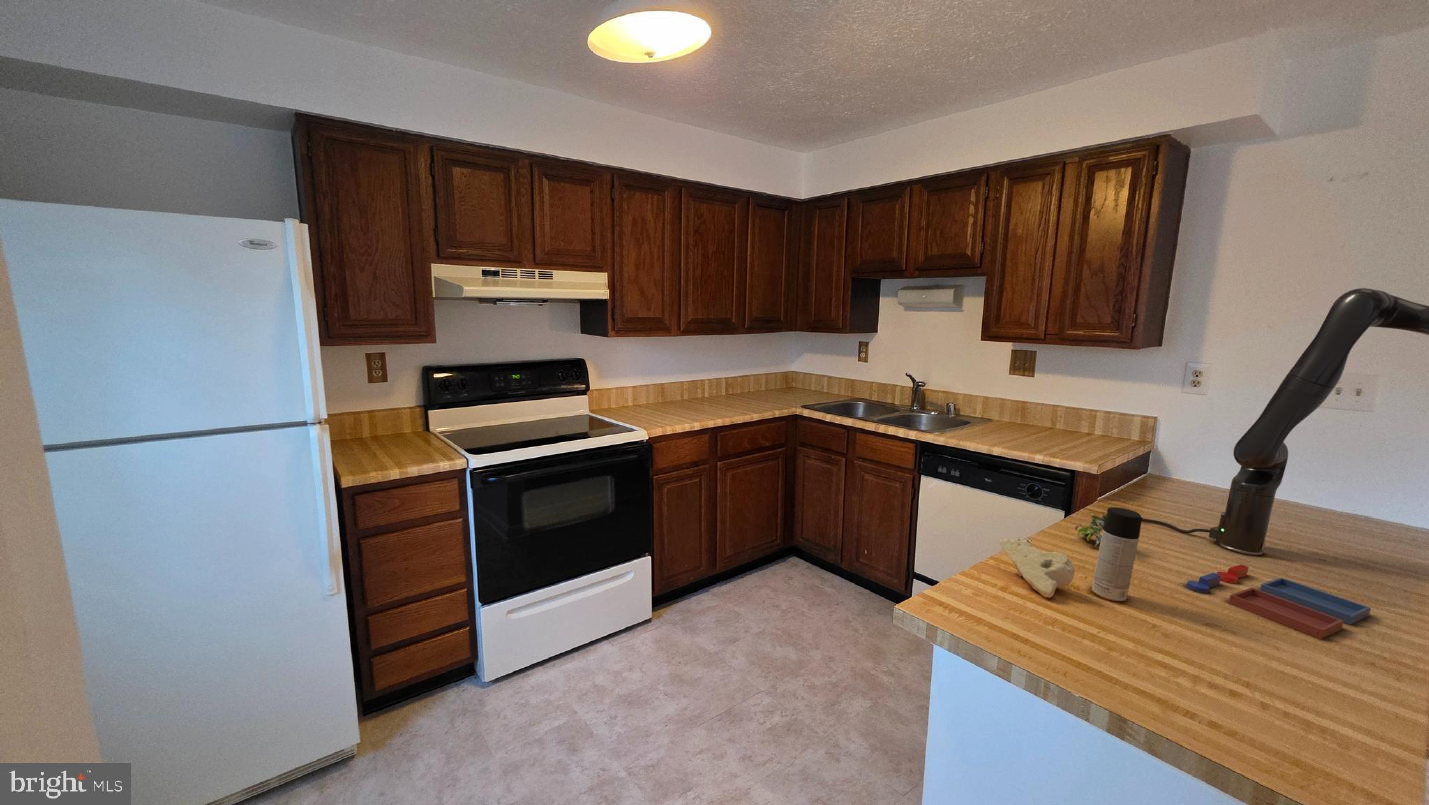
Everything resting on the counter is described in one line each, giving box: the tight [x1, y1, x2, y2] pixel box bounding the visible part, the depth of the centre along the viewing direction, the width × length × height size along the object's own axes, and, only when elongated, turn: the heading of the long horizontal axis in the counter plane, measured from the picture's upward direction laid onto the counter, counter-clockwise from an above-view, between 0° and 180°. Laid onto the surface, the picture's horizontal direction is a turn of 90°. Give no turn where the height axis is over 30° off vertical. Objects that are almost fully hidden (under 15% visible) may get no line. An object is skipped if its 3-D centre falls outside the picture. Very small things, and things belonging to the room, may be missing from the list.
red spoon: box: [1216, 564, 1249, 584], centre depth 141 cm, size 10×4×2 cm, turn 116°
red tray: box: [1228, 587, 1344, 640], centre depth 123 cm, size 15×10×2 cm
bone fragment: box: [999, 537, 1075, 599], centre depth 131 cm, size 15×7×15 cm
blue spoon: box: [1186, 572, 1221, 594], centre depth 135 cm, size 10×4×2 cm, turn 116°
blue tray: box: [1259, 577, 1372, 626], centre depth 130 cm, size 15×10×2 cm
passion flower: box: [1074, 512, 1107, 549], centre depth 156 cm, size 11×11×12 cm
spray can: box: [1091, 506, 1143, 602], centre depth 127 cm, size 7×7×20 cm
